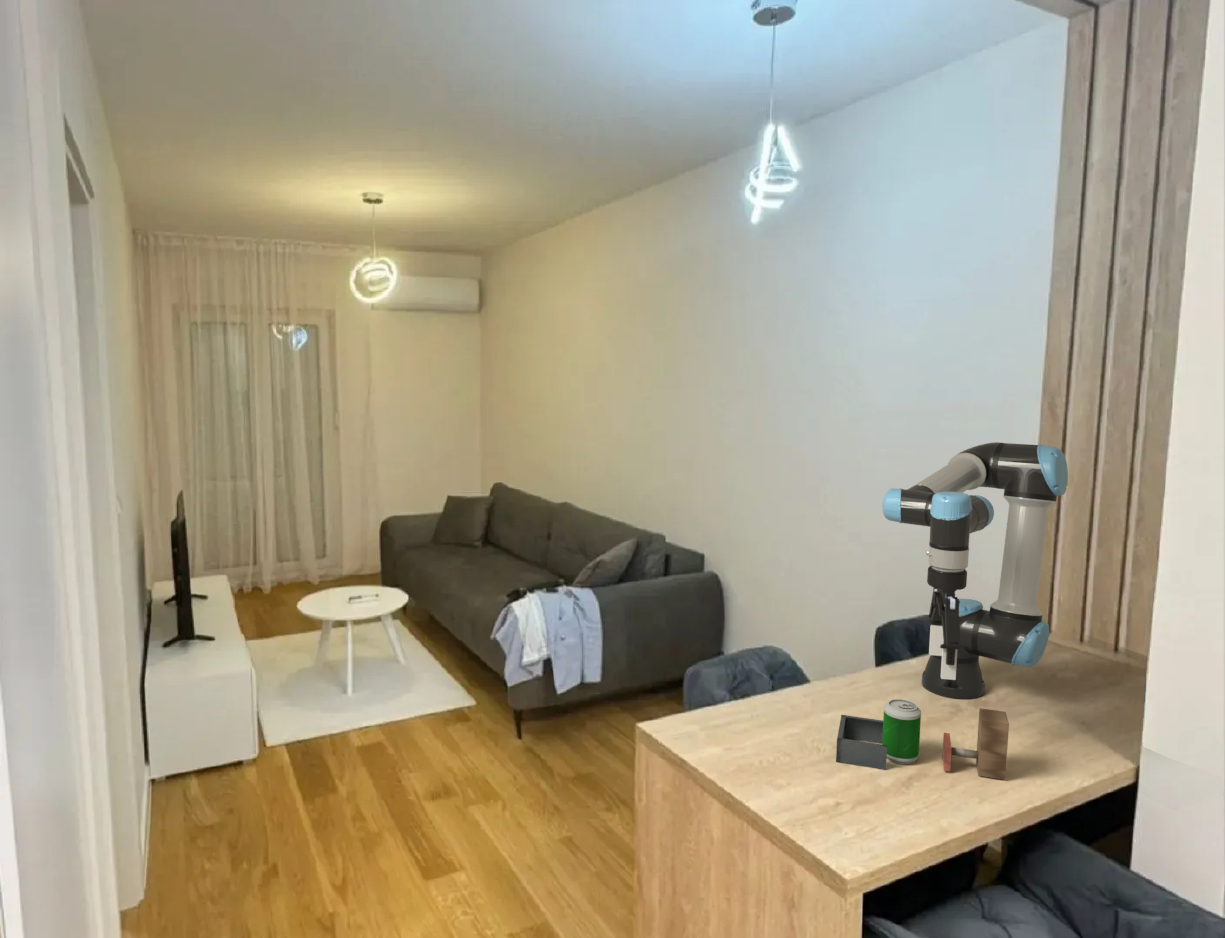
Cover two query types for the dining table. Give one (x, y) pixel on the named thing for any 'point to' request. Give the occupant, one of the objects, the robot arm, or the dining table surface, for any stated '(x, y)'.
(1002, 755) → the striker
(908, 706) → the soda can
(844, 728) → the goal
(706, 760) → the dining table surface
